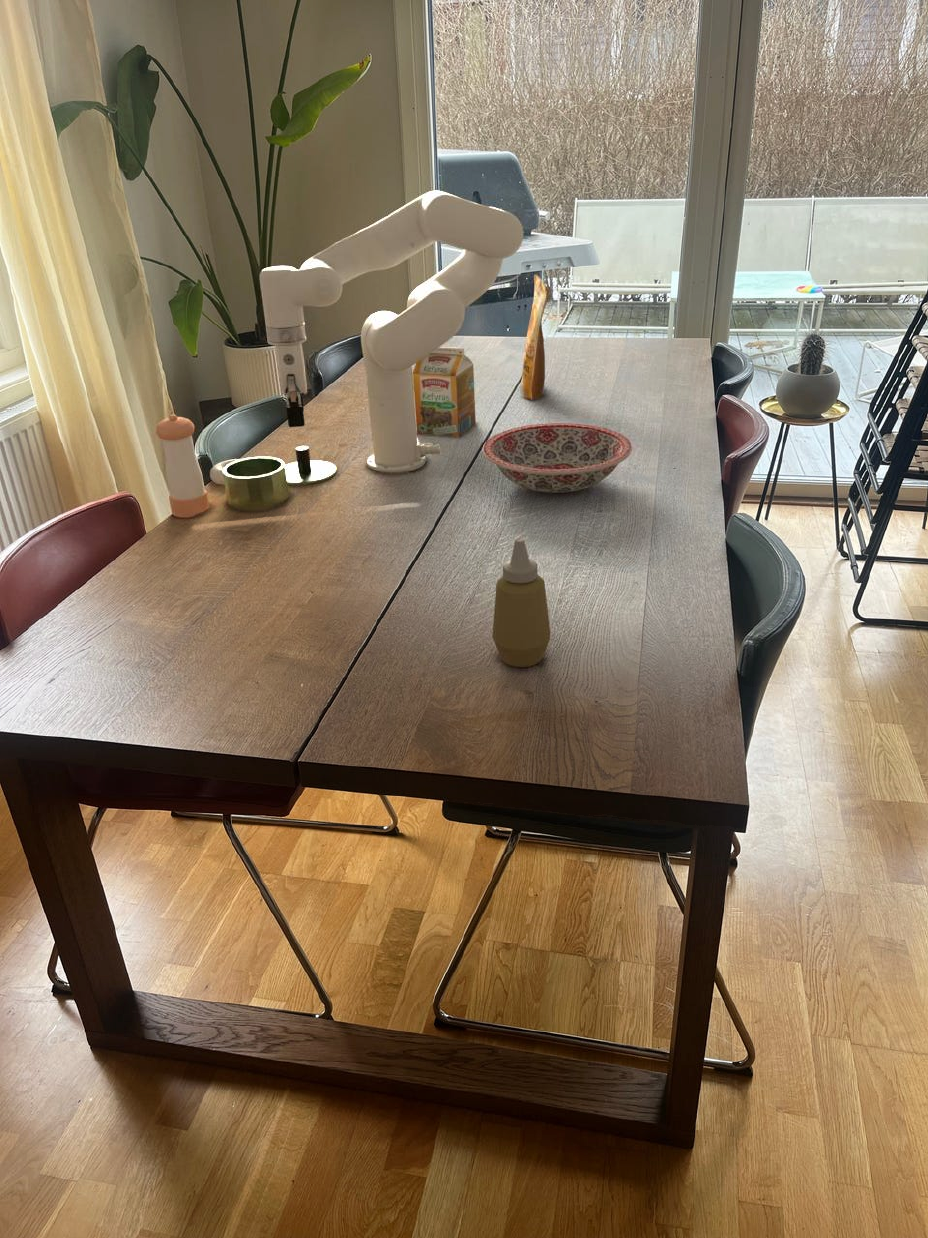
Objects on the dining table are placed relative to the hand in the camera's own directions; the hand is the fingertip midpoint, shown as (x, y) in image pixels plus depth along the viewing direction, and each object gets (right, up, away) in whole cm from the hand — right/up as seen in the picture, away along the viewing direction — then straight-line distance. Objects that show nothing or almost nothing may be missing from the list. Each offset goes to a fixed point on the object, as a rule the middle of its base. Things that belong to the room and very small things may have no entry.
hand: (296, 419), depth 195 cm
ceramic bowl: (+53, -14, -4) cm, 55 cm away
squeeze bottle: (+42, -46, -61) cm, 88 cm away
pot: (-7, -17, -5) cm, 19 cm away
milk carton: (+30, +4, +30) cm, 43 cm away
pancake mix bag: (+53, +18, +54) cm, 78 cm away
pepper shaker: (-19, -20, -8) cm, 29 cm away
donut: (-14, -12, +6) cm, 19 cm away
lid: (+1, -10, +6) cm, 12 cm away
